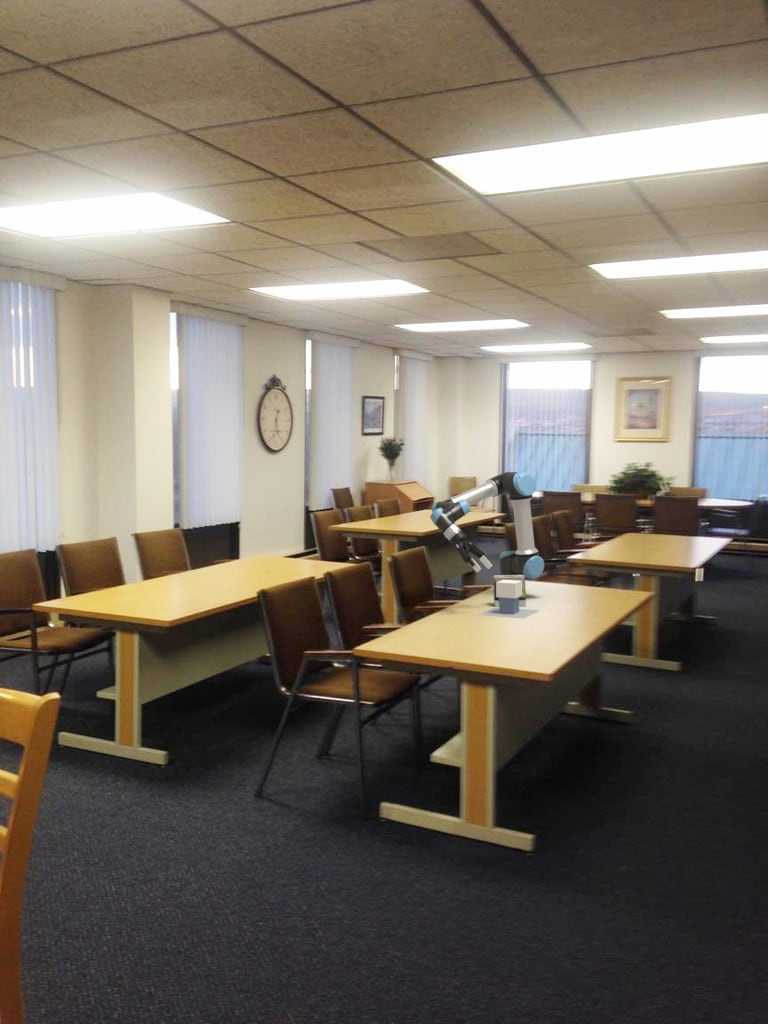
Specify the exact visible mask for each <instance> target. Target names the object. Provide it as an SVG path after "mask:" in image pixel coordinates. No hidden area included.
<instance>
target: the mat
mask: <svg viewBox="0 0 768 1024" xmlns="http://www.w3.org/2000/svg"><path fill="white" fill-rule="evenodd" d="M540 611H541V610H540V609H539V610H537V609H529V608H528V609H526V608H525V609H524V608H519V612H518V613H516V614H502V613H499V607H495V606H494V607H492V608H491V609H488V610H486V611H483V612H481V613H479V614H478V616H485V617H486V616H487V617H499V618H511V619H526V618H528V617H530V616H533V615H534V614H537V613H538V612H540Z"/></svg>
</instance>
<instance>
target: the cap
mask: <svg viewBox="0 0 768 1024" xmlns="http://www.w3.org/2000/svg"><path fill="white" fill-rule="evenodd" d="M520 596H522V581H516V580H501V581H498V582H496V597H502V598H517V597H520Z"/></svg>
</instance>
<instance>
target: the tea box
mask: <svg viewBox="0 0 768 1024" xmlns="http://www.w3.org/2000/svg"><path fill="white" fill-rule="evenodd" d="M501 580H516V581H522V596H520V597H519V608H527V607H526V606H527V604H526V603H527V601H526V599H527V598H526V597H527V590H526V591H525V589H526V578H525V577H524V575H500V574H499V575H498V574H497V575H495V574H494V575H493V604H494V608H495V607H499V597H496V582H498V581H501Z"/></svg>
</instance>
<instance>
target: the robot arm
mask: <svg viewBox="0 0 768 1024" xmlns="http://www.w3.org/2000/svg"><path fill="white" fill-rule="evenodd" d="M536 484H537V482H536V479H535V477H533V475H532V474H530V473H528V472H524V471H505V472H502V473H500V474H497V475H495V476H493V477H491V478H489V479H487V480H486V481H485V482H484V483H482V484H480V485H477V486H475V487H473V488H471V489H468V490H466V491H463V492H461V493H459V494H457V495H455V496H452V497H450V498H448V499H445V500H443V501H435V502H434V503H433V504H432V507H431V512H432V513H431V514H430V516H429V518H430V520H431V522H432V523H433V525H435V526H436V528H437V529H438V530H439V531H440V532H441V533H442V534H443V535H444V537H445V538H446V539H447V540H448V541H449V542H450V543H451V544H452V546H453V547H454V548H455V549H456V551H457V552H458V554H459V556H460V557H461V559H462V561H463V562H464V563H465V564H467V563H468V564H469V565H470V567H471V568H472V569H473V570H474V571H475V572H476V573H479V572H480V571H481V570H482V568H481V567H480V565H479V564H478V563H477V561H475V559H474V558H472V557H471V555H470V553H471V554H472V555H474V556H475V557H477V558H478V559H479V561H480V562H481V563H482V564H483V565H484V566H485V568H486V569H487V570H490V569H491V568H492V567H493V564H492V563H491V562H490V561H489V559H488V558H487V557H486V556H485V555H486V553H485V552H484V551H482V549H480V548H478V546H476V545H475V544H474V543H473V542H472V541H471V540H468V541H467V540H466V539H467V534H465V532H463V531H462V529H461V528H460V527H459V526H458V525H457V524H456V522H457V521H459V520H460V519H462V518H463V517H465V516H467V514H469V513H470V512H471V507H470V506H473V505H474V504H477V503H480V502H482V501H485V500H487V499H488V498H491V497H492V498H496V497H498V496H503V495H505V496H506V495H507V496H508V500H509V501H510V502H511V503H512V508H513V509H512V510H513V517H514V526H515V527H514V528H515V534H516V535H515V536H516V545H517V549H516V550H509V551H502V552H500V554H499V575H524V577H525V579H537V578H538V577H540V576H541V575H542V573H543V571H544V570H545V561H544V559H543V558H542V557H541V556H539V550H538V549H537V548H536V546H535V538H534V537H535V536H534V529H533V519H532V509H531V500H532V499H533V494H534V493H535V490H536V489H537V488H536V487H537V485H536ZM525 591H526V592H527V589H526V588H525Z"/></svg>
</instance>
